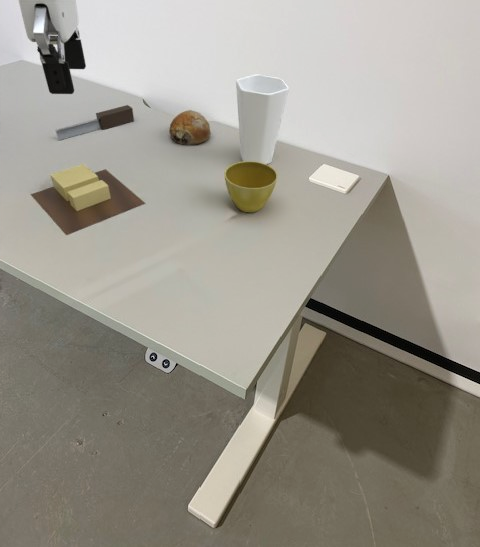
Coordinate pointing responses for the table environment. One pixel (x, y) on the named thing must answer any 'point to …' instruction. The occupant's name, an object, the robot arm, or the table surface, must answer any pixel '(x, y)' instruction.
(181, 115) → the bread roll
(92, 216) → the board
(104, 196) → the butter slice
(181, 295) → the table surface
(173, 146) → the table surface
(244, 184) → the flower pot
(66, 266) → the table surface
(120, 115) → the knife
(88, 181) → the butter block
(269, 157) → the cup
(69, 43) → the robot arm
